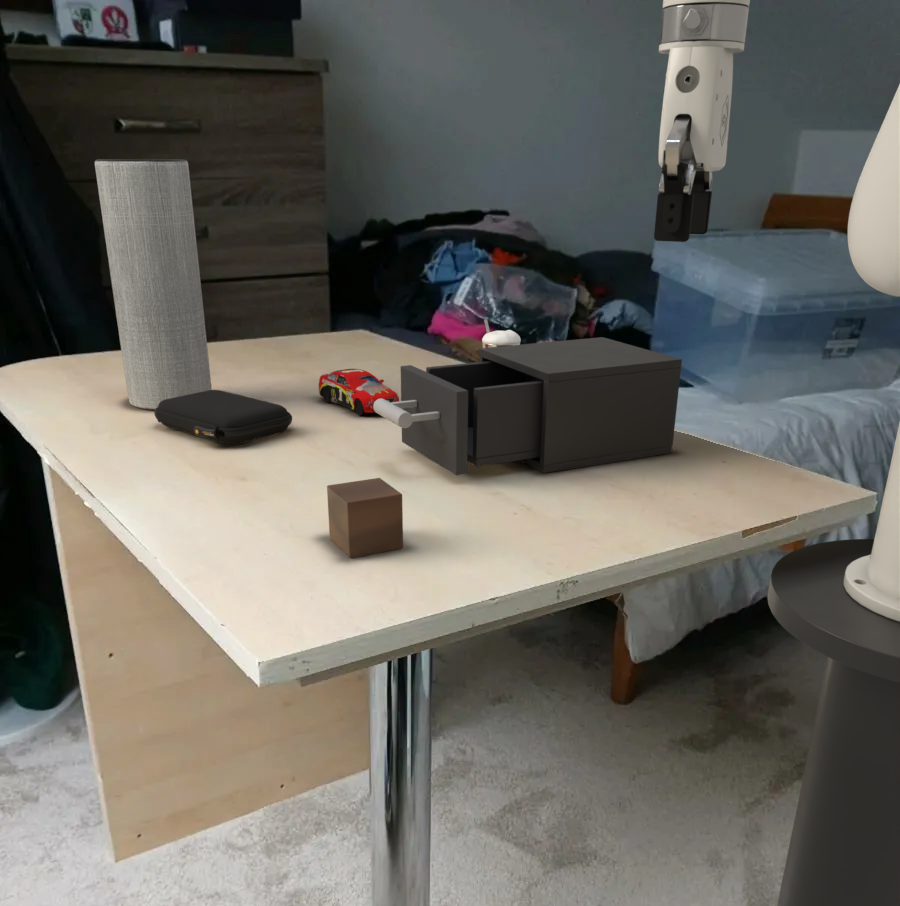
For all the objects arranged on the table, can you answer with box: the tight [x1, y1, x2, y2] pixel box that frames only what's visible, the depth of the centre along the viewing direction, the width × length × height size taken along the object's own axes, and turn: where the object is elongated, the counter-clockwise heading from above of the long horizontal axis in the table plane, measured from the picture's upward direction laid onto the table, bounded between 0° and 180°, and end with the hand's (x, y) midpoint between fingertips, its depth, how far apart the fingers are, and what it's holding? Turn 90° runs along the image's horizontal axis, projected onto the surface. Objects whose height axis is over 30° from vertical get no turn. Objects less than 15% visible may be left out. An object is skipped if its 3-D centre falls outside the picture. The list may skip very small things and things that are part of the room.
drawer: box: [373, 361, 544, 476], centre depth 93 cm, size 19×12×8 cm, turn 117°
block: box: [326, 477, 404, 559], centre depth 74 cm, size 4×4×4 cm
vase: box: [94, 158, 213, 411], centre depth 111 cm, size 10×10×27 cm
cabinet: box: [478, 336, 683, 474], centre depth 98 cm, size 16×14×10 cm
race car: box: [318, 368, 400, 416], centre depth 114 cm, size 13×5×4 cm, turn 35°
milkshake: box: [481, 318, 522, 348], centre depth 112 cm, size 5×5×10 cm
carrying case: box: [153, 389, 293, 445], centre depth 104 cm, size 11×3×15 cm
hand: (681, 237), depth 92 cm, fingers open, 9 cm apart
